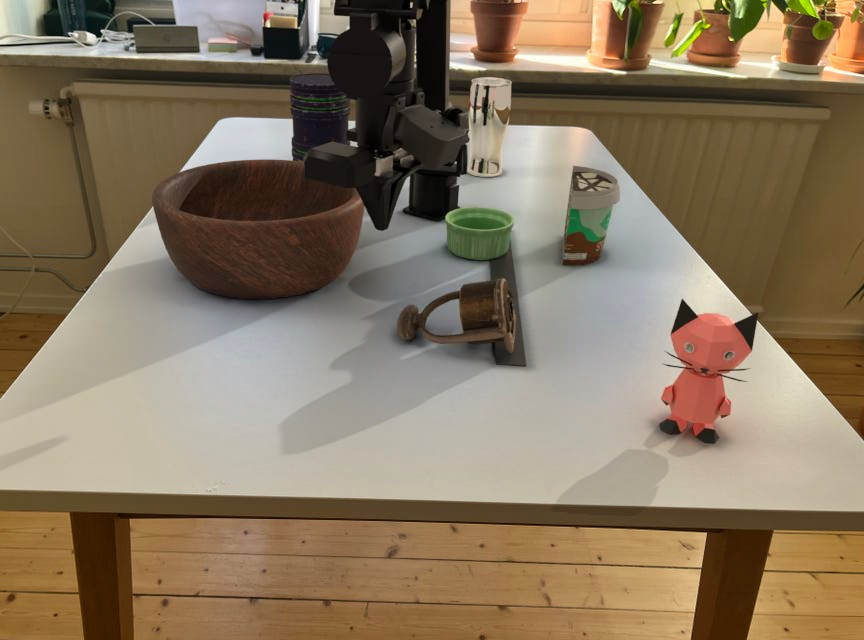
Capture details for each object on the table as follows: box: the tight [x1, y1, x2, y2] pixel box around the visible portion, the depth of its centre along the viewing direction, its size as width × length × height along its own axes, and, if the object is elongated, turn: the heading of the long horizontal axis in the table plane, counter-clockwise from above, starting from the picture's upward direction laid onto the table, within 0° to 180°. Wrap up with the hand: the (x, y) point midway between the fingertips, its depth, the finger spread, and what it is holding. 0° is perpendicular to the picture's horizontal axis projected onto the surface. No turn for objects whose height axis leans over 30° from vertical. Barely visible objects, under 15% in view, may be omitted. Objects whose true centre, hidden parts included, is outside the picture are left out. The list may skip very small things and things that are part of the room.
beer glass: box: [467, 76, 513, 178], centre depth 136 cm, size 7×7×15 cm
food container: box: [561, 165, 621, 266], centre depth 106 cm, size 12×6×10 cm, turn 168°
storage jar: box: [289, 72, 352, 162], centre depth 135 cm, size 10×10×15 cm
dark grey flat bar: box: [489, 239, 527, 367], centre depth 98 cm, size 38×3×1 cm, turn 175°
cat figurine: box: [658, 298, 759, 444], centre depth 70 cm, size 7×7×12 cm
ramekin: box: [444, 206, 515, 261], centre depth 107 cm, size 9×9×4 cm
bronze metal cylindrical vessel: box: [396, 278, 516, 354], centre depth 84 cm, size 7×13×10 cm
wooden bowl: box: [151, 158, 365, 300], centre depth 99 cm, size 25×25×10 cm
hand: (381, 229), depth 87 cm, fingers closed
